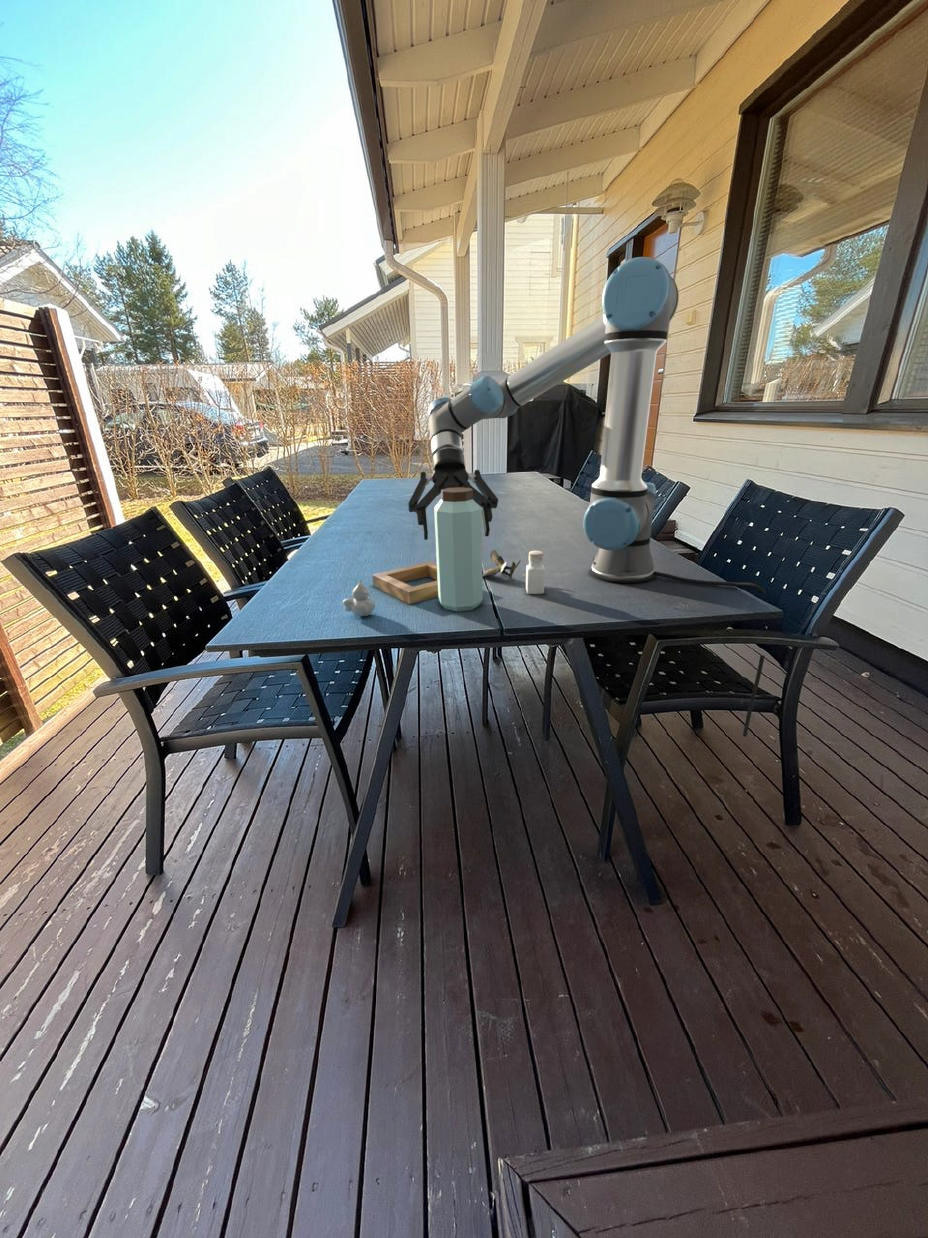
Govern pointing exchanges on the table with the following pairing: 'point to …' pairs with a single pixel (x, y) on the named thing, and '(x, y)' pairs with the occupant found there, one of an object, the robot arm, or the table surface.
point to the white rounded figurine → (360, 601)
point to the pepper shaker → (535, 573)
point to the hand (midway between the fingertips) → (456, 534)
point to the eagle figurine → (500, 566)
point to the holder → (395, 578)
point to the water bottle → (459, 549)
